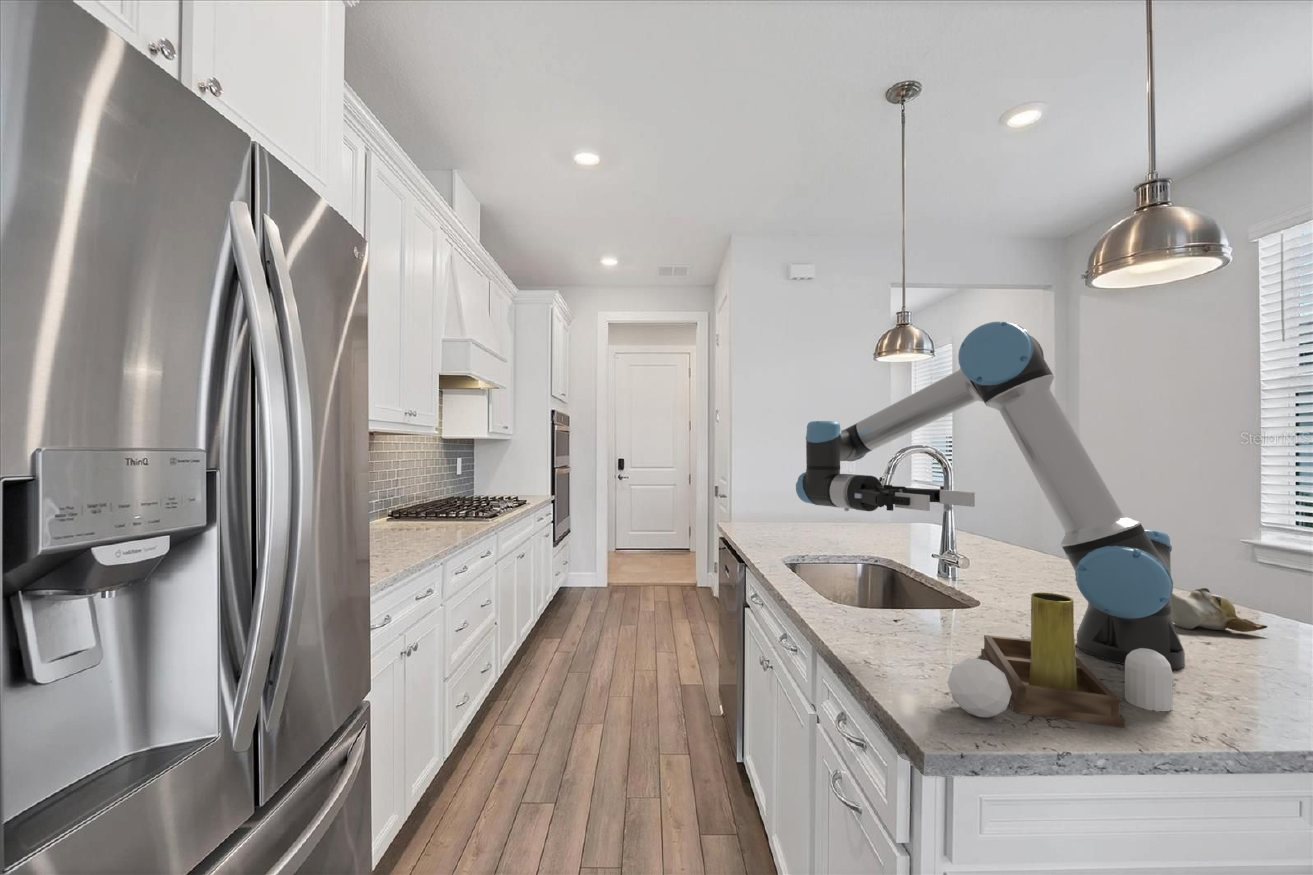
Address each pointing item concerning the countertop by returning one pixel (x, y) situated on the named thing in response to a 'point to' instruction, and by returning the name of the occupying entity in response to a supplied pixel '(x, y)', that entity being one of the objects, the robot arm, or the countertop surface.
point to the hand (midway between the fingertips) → (951, 501)
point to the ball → (979, 687)
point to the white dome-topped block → (1148, 680)
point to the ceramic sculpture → (1208, 612)
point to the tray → (1080, 705)
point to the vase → (1052, 642)
